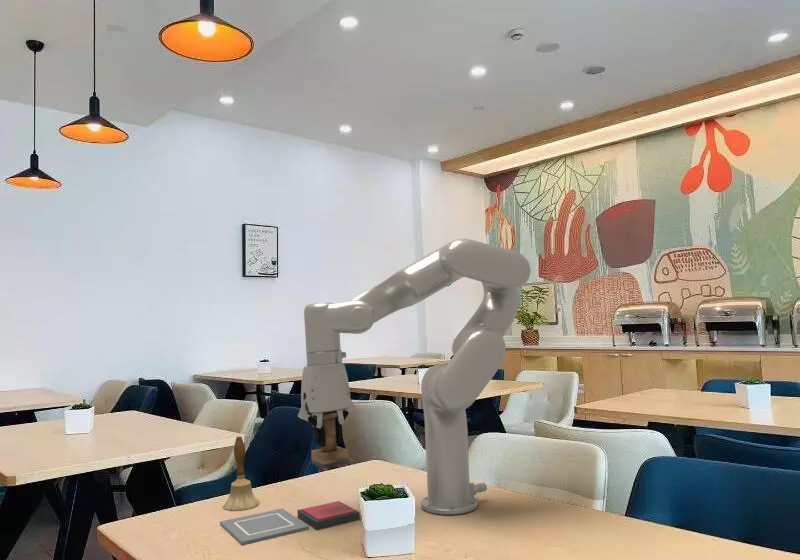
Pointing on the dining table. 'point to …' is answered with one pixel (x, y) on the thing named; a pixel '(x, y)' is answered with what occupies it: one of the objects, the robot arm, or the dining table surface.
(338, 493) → the dining table surface
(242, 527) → the board
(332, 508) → the ink pad
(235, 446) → the hand bell
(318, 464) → the stamp
